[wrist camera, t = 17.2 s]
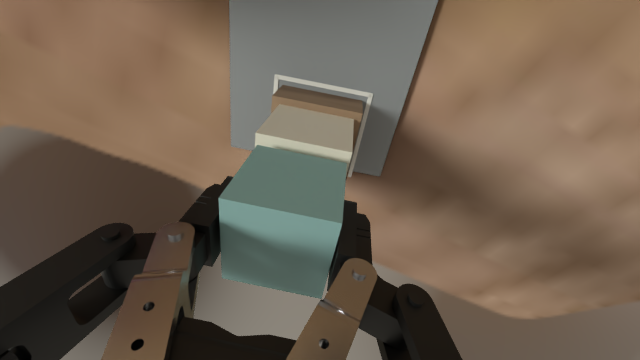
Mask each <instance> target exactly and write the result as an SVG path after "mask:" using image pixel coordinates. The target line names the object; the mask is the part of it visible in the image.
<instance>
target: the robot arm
mask: <svg viewBox="0 0 640 360" xmlns="http://www.w3.org/2000/svg"><path fill="white" fill-rule="evenodd" d="M232 179H233V177H231V176H228V177H227V178H226V179H225V180H224V182H223V183H222V184H221V185H219V184H214V185H212V186H210V187H209V188H207V189H206V190H205V191H204V192H203V193H202V194H201V196H200V197H199V198H198V199H197V200H196V203H194V204H193V205H192V206H191V207H190V209H189V210H188V211H187V212H186V213H185V215H184V216H183V217H182V218H181V219H180V220H179V222H173V223H169V224H167V225H165V226H163V227H161V228H160V229H159V230H158V232H157V233H140V234H134V232H133V229H132V227H131V226H130V225H128V224H124V223H113V224H108V225H105V226H102V227H100V228H98V229H96V230H95V231H93V232H92V233H90V234H88V235H87V236H85V237H83V238H81V239H80V240H78V241H76V242H75V243H73V244H71V245H70V246H68V247H66V248H65V249H63V250H61V251H60V252H58V253H56V254H55V255H53V256H51V257H50V258H48V259H46V260H45V261H43V262H41V263H40V264H38V265H36V266H35V267H33V268H31V269H30V270H28V271H26V272H25V273H23V274H21V275H20V276H18V277H16V278H14V279H13V280H11V281H10V282H8V283H6V284H4V285H3V286H1V287H0V360H60V359H61V358H62V357H63V356H64V355H65V354H66V353H68V352H69V351H70V350H71V349H72V348H73V347H75V346H76V345H77V344H78V343H79V342H80V341H81V340H83V338H85V337H86V336H87V335H88V334H89V333H90V332H92V331H93V330H94V329H95V328H96V327H97V326H98V325H99V324H101V323H102V322H103V321H104V320H105V319H106V318H107V317H109V315H111V314H112V313H113V312H114V311H115V310H116V309H118V308H119V307H120V306H121V305H122V307H121V309H120V312H119V314H118V317H117V320H116V323H115V325H114V328H113V330H112V333H111V336H110V338H109V341H108V343H107V346H106V348H105V351H104V354H103V356H102V359H101V360H346V357H347V355H348V352H349V350H350V347H351V345H352V342H353V340H354V337H355V334H356V332H357V329H358V328H360V329H361V330H363V331H365V332H367V333H368V334H370V335H372V336H374V337H376V338H377V342H378V346H379V350H380V353H381V356H382V360H462V358H461V356H460V354H459V352H458V350H457V348H456V346H455V344H454V342H453V340H452V338H451V336H450V334H449V332H448V330H447V328H446V326H445V324H444V322H443V320H442V318H441V316H440V314H439V312H438V310H437V308H436V306H435V304H434V302H433V300H432V298H431V297H430V296H429V294H428V293H427V292H426V291H425V290H423V289H422V288H420V287H418V286H416V285H413V284H404V285H402V286H400V287H399V288H397V287H395V286H394V285H391V284H390V283H388V282H386V281H384V280H383V279H381V278H380V277H379V276H378V275H377V273H376V270H375V268H374V267H373V266H372V251H371V232H370V222H369V220H368V218H367V217H366V215H364V214H359V213H357V203H356V202H351V201H347V200H344V208H343V222H342V227H341V230H340V234H339V237H338V241H337V245H336V248H335V252H334V255H333V259H332V262H331V266H330V270H329V279H328V288H327V291H328V293H327V294H326V296H325V298H324V299H323V300H320V302H319V303H318V305H317V306H316V308H315V310H314V312H313V313H312V315H311V317H310V319H309V320H308V322H307V324H306V326H305V327H304V329H303V331H302V333H301V334H300V336H299V338H298V339H297V340H292V339H287V338H283V337H277V336H273V335H254V336H236V335H234V334H232V333H230V332H228V331H226V330H225V329H223V328H221V327H219V326H217V325H215V324H214V323H212V322H207V321H203V320H198V319H194V311H195V304H196V298H197V291H198V284H199V278H200V274H199V272H200V270H201V268H202V267H203V265H207V266H211V267H212V266H213V264H214V262H215V261H216V259H217V257H218V255H219V254H220V252H221V243H220V221H219V199H218V198H219V197H220V195H221V194H222V193H223V191H224V190H225V188H226V187H227V186H228V184H229V183H230V182H231V180H232ZM99 273H101V275H102V276H100V277H99V278H98V279H96V280H95V281H94V282H92V283H91V284H90V285H88V286H87V287H86V288H84V289H83V290H82V291H80V292H79V293H78V294H76V295H75V296H74V297H72V298H71V299H70V300H69V298H70V296H71V295H72V294H73V293H74V292H75V291H76V290H78V289H79V288H80V287H82V286H83V285H84V284H86V283H87V282H88V281H90V280H91V279H93V278H94V277H95V276H97V275H98V274H99Z"/></svg>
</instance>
